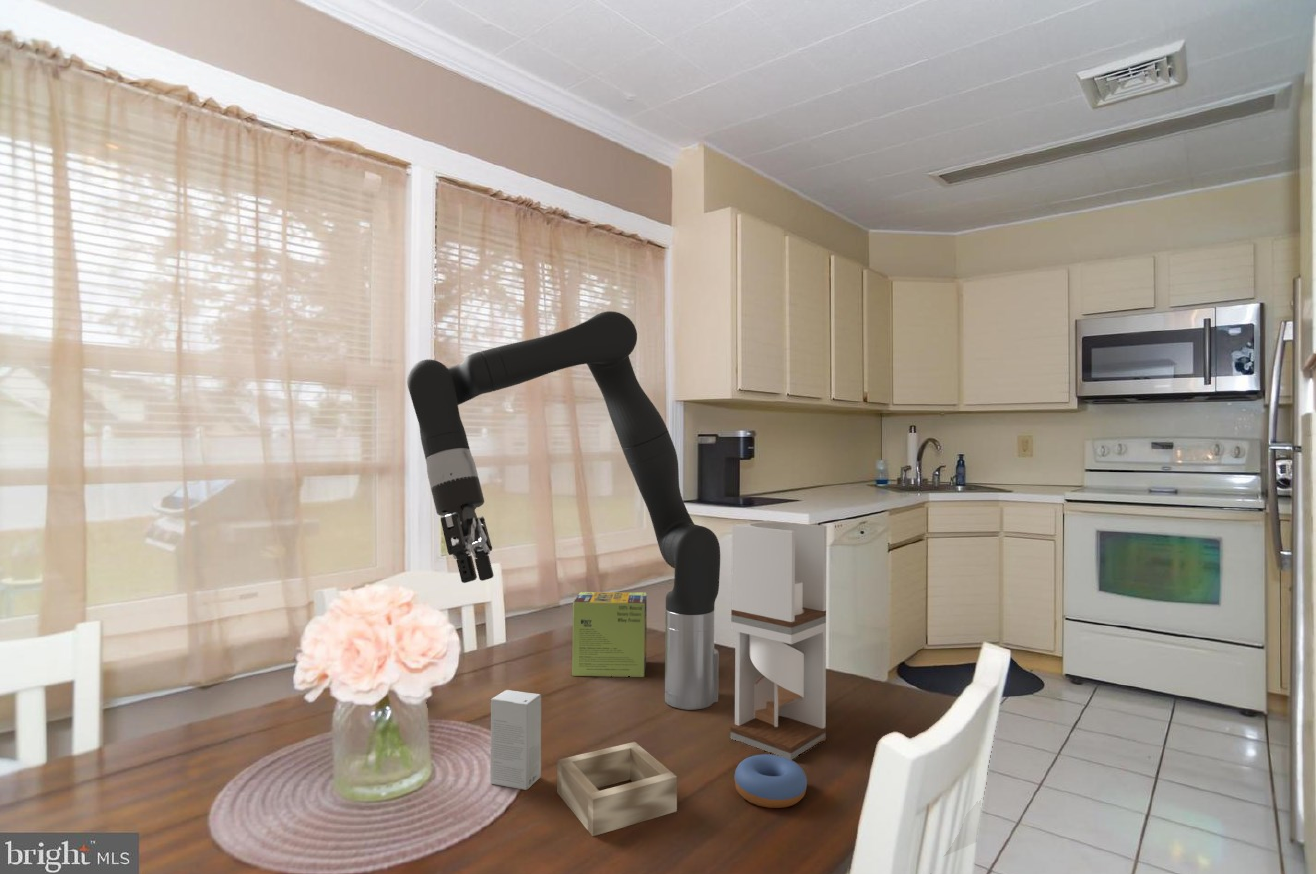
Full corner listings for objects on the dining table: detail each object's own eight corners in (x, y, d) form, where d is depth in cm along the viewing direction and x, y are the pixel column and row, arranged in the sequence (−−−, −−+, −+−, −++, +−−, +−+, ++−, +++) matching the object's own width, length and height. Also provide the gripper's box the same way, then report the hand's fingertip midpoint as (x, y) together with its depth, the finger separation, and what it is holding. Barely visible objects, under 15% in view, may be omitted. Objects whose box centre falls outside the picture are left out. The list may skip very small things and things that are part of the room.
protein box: (645, 677, 141) (645, 602, 141) (571, 676, 141) (572, 601, 141) (646, 661, 151) (647, 591, 151) (577, 660, 151) (578, 591, 152)
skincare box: (541, 777, 98) (542, 693, 98) (526, 791, 94) (527, 704, 94) (505, 770, 100) (506, 688, 100) (488, 784, 96) (489, 698, 96)
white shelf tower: (730, 739, 111) (732, 525, 112) (766, 720, 119) (768, 520, 120) (790, 761, 103) (792, 531, 104) (825, 739, 111) (826, 526, 112)
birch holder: (634, 772, 99) (634, 741, 99) (676, 811, 89) (677, 776, 89) (557, 792, 93) (557, 759, 93) (592, 836, 83) (593, 799, 83)
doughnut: (791, 819, 87) (791, 781, 88) (721, 801, 92) (721, 765, 93) (817, 794, 95) (817, 759, 96) (752, 779, 101) (752, 746, 101)
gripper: (461, 469, 102) (488, 575, 99) (490, 479, 116) (513, 572, 113) (414, 484, 102) (438, 590, 99) (448, 492, 116) (470, 585, 113)
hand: (478, 580), depth 106 cm, fingers open, 8 cm apart
